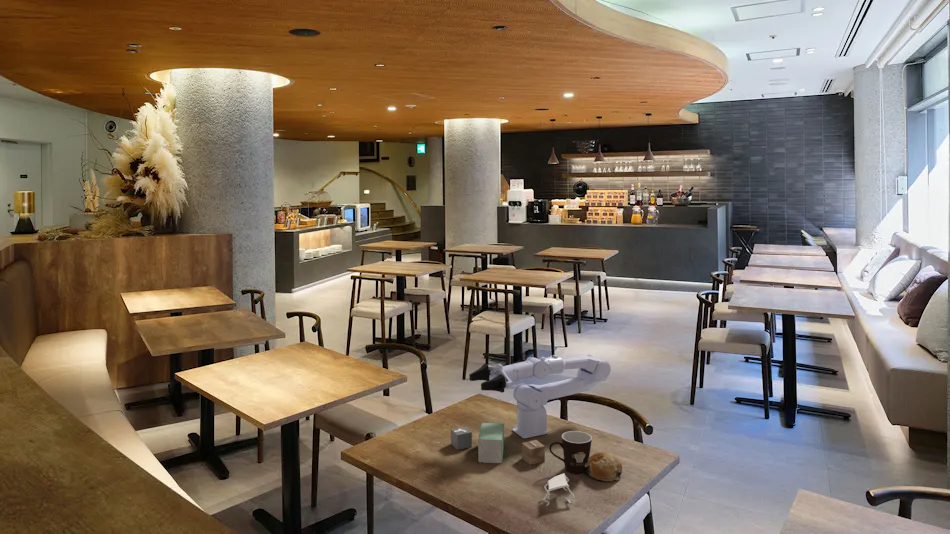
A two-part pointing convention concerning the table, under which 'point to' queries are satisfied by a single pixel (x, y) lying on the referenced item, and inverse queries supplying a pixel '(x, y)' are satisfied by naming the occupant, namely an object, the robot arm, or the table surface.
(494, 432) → the box
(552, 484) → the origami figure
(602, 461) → the bread roll
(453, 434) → the charcoal cube
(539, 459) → the brown cardboard cube
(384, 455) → the table surface
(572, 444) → the coffee mug
